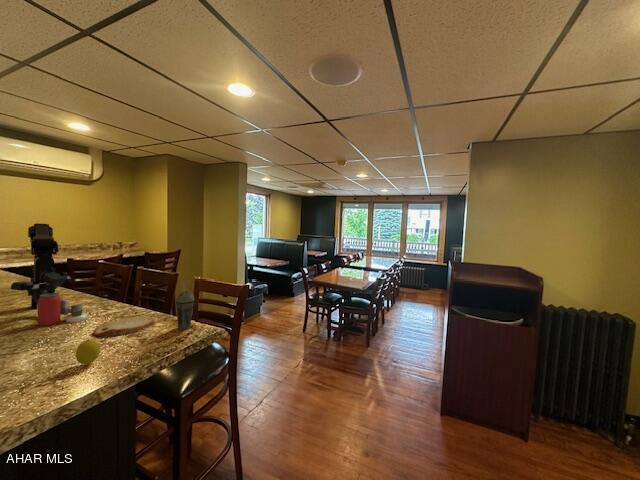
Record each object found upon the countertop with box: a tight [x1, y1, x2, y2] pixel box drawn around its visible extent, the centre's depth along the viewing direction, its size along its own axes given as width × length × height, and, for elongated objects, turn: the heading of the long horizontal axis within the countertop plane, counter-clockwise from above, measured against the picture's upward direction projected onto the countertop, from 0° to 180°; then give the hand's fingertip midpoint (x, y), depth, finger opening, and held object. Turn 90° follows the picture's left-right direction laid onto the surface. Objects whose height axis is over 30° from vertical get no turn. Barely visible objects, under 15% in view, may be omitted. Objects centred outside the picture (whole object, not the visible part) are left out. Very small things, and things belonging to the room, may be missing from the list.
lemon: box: [75, 338, 101, 366], centre depth 81 cm, size 6×6×8 cm
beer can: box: [37, 292, 62, 327], centre depth 110 cm, size 7×7×12 cm
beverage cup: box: [175, 281, 195, 331], centre depth 114 cm, size 7×7×20 cm
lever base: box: [65, 312, 88, 324], centre depth 115 cm, size 7×7×2 cm
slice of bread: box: [92, 315, 155, 339], centre depth 110 cm, size 18×18×4 cm
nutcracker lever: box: [36, 290, 84, 316], centre depth 117 cm, size 22×4×9 cm, turn 80°
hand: (42, 301), depth 118 cm, fingers open, 4 cm apart
